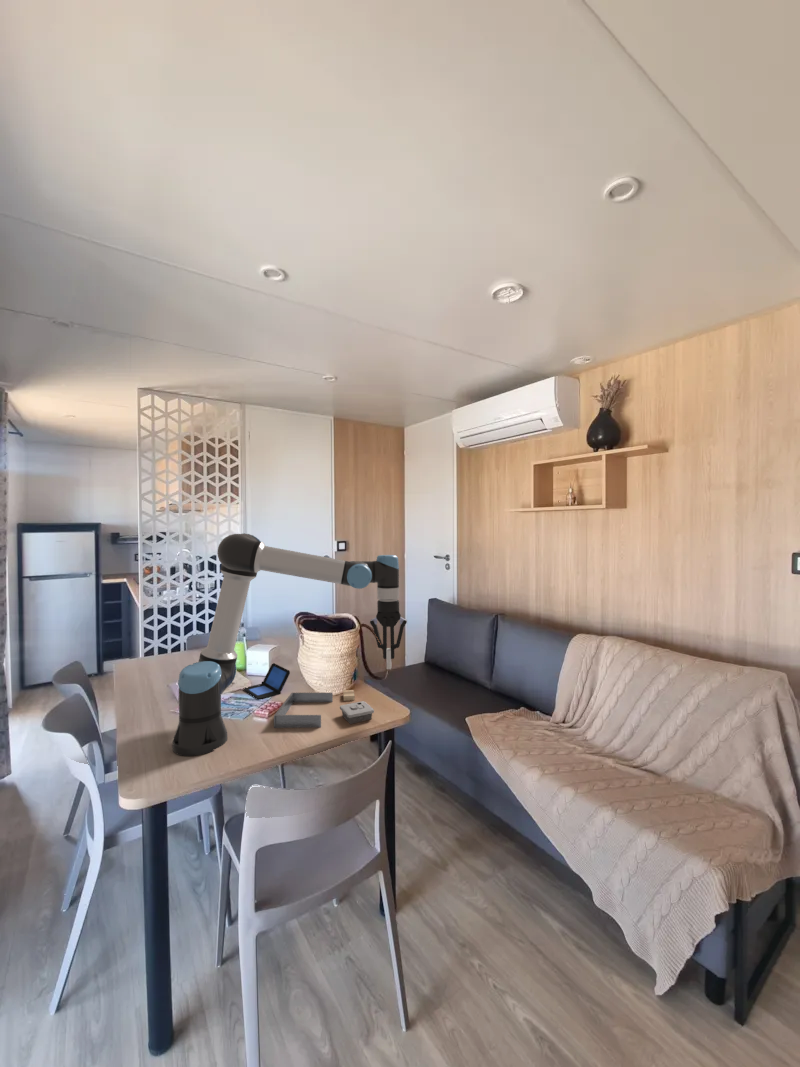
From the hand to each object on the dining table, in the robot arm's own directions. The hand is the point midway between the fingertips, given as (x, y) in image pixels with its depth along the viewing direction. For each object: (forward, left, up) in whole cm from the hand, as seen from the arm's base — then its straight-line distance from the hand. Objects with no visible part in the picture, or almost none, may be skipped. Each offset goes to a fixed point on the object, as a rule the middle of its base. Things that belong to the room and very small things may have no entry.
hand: (389, 667), depth 156 cm
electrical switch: (0, +13, -17) cm, 21 cm away
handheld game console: (+23, +50, -17) cm, 58 cm away
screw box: (+14, +16, -17) cm, 27 cm away
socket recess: (0, +29, -16) cm, 33 cm away
